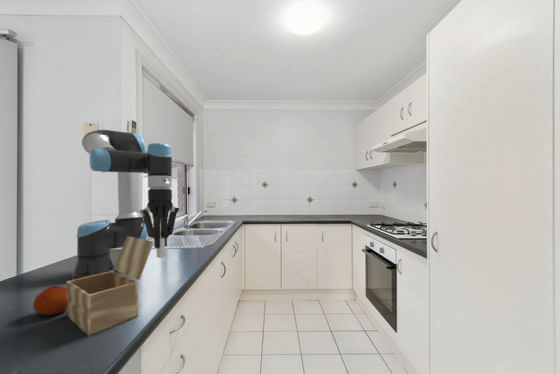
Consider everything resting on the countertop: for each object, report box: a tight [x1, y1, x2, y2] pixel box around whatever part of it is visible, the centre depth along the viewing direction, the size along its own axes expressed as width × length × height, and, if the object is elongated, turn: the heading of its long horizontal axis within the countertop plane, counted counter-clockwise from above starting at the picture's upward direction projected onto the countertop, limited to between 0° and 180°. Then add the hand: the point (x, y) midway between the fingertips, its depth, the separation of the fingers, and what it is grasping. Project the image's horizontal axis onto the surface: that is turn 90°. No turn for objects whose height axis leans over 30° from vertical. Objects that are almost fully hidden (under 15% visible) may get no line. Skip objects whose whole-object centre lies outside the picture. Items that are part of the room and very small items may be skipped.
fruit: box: [33, 285, 67, 316], centre depth 79 cm, size 9×9×8 cm
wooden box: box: [66, 271, 139, 337], centre depth 76 cm, size 18×12×10 cm, turn 53°
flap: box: [114, 236, 154, 281], centre depth 83 cm, size 17×11×1 cm
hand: (160, 256), depth 90 cm, fingers closed
